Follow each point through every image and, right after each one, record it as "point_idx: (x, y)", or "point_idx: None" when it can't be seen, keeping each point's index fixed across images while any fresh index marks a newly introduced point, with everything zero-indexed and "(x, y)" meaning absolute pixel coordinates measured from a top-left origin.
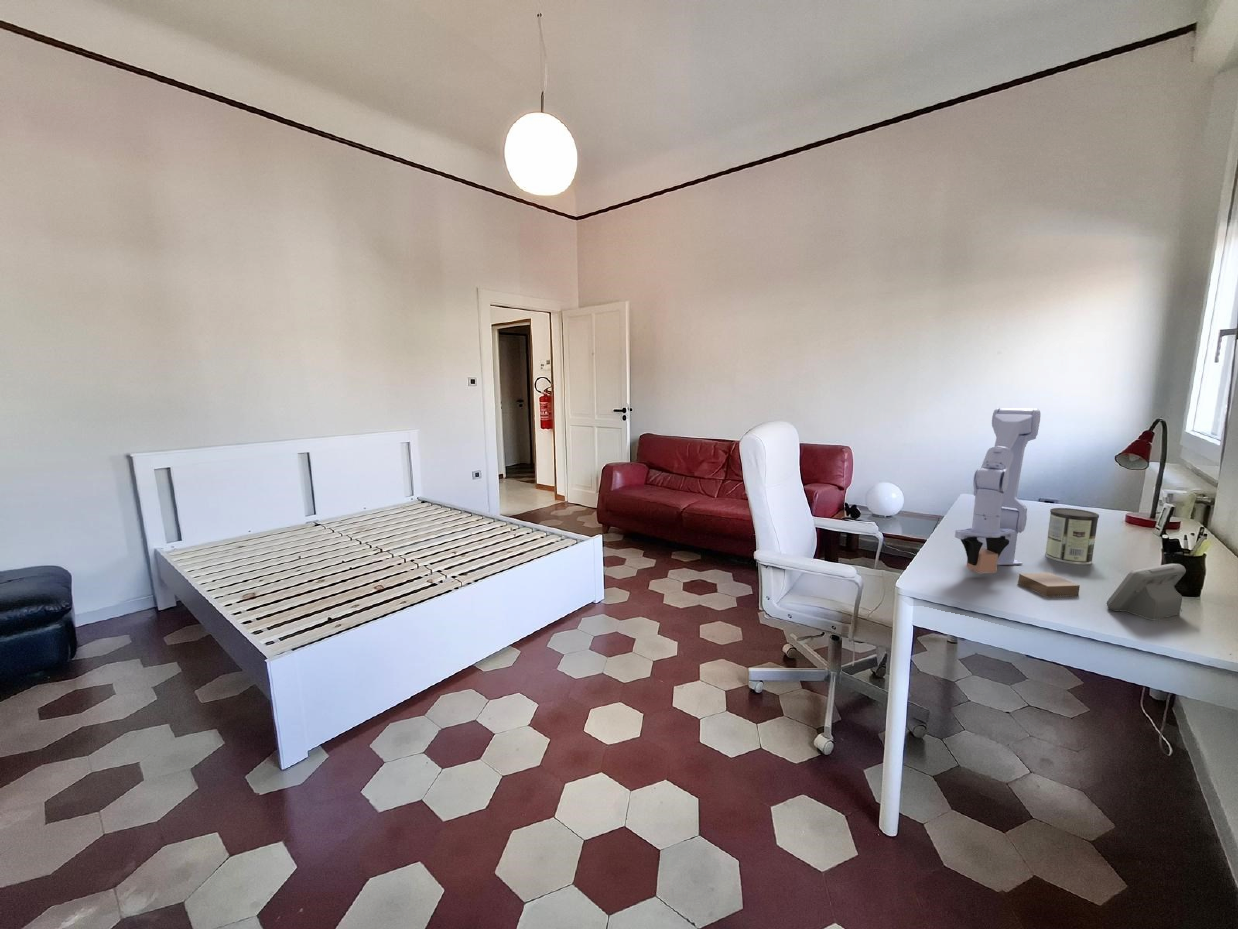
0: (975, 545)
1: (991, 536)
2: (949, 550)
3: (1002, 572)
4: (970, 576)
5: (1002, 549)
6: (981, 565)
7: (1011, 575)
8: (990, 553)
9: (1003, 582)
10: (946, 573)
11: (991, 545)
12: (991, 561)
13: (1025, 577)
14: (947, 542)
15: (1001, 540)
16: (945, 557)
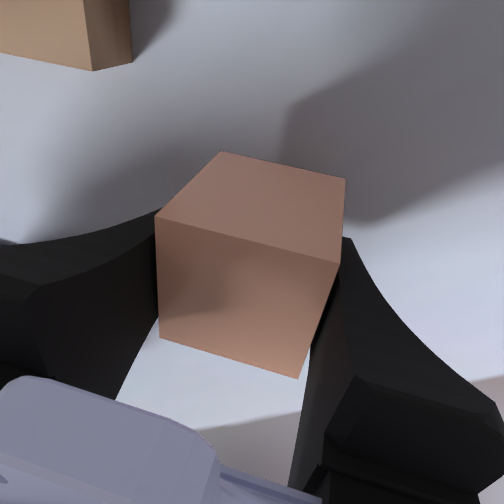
0: (469, 389)
1: (215, 484)
2: (152, 400)
3: (109, 209)
4: None
5: (77, 240)
6: (332, 203)
7: (91, 168)
8: (211, 255)
9: (208, 99)
10: (401, 292)
11: (123, 331)
12: (240, 197)
13: (88, 3)
14: None
15: (14, 323)
16: (219, 380)
